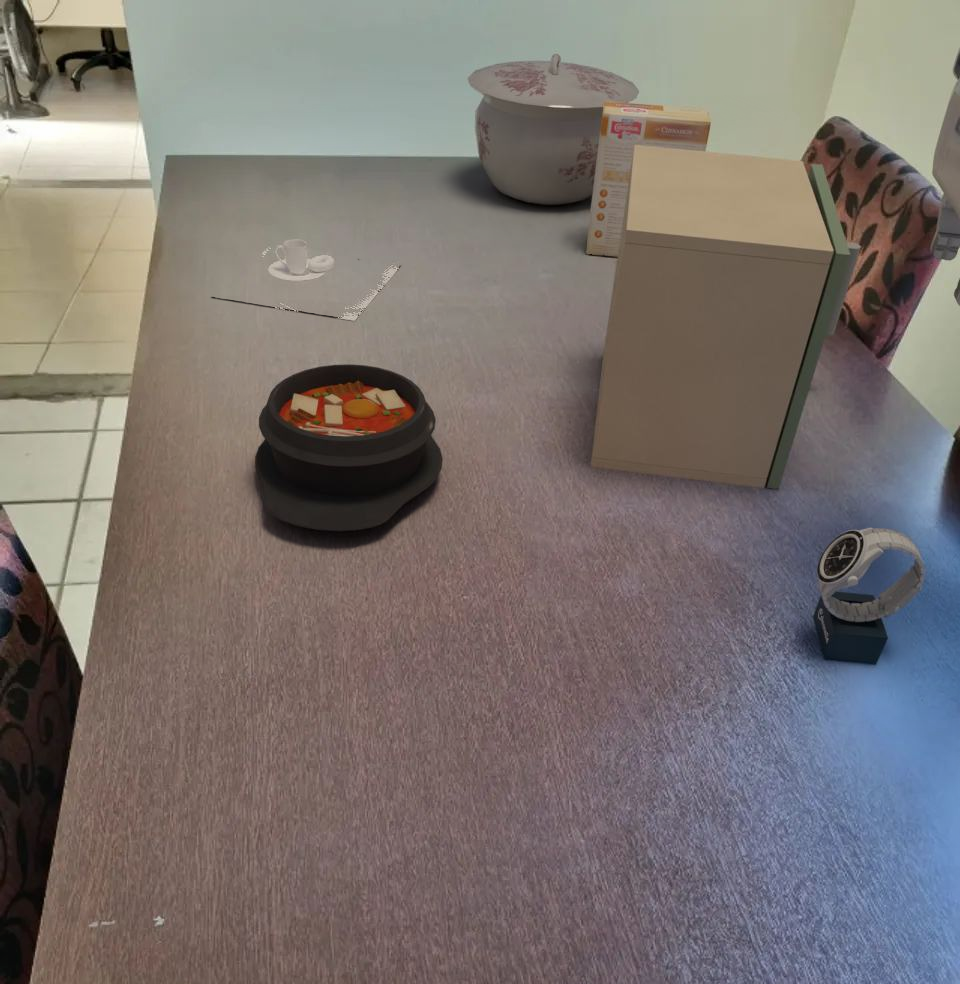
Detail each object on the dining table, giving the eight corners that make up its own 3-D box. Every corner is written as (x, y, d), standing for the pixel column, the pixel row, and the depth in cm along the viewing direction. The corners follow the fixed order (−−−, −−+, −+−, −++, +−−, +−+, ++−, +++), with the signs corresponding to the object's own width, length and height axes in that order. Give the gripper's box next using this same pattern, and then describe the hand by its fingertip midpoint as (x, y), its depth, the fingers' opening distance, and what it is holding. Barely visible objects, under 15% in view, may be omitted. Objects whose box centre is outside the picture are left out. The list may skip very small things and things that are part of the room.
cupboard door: (814, 379, 119) (879, 170, 103) (836, 497, 100) (920, 262, 83) (756, 372, 120) (811, 163, 103) (766, 488, 100) (836, 252, 84)
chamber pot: (514, 229, 152) (526, 80, 138) (435, 176, 169) (438, 39, 155) (658, 208, 163) (682, 68, 149) (570, 160, 180) (583, 31, 166)
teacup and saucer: (340, 267, 137) (338, 238, 134) (319, 288, 131) (317, 258, 129) (282, 258, 139) (279, 229, 136) (259, 279, 133) (255, 249, 130)
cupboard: (748, 372, 120) (803, 160, 103) (764, 489, 100) (834, 250, 84) (603, 356, 121) (634, 144, 105) (590, 467, 102) (626, 229, 85)
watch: (790, 615, 85) (826, 511, 78) (882, 624, 85) (927, 521, 78) (800, 659, 81) (840, 553, 74) (897, 668, 81) (947, 563, 74)
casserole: (419, 559, 88) (420, 480, 83) (220, 534, 90) (208, 455, 84) (459, 423, 107) (462, 351, 101) (293, 404, 108) (287, 332, 102)
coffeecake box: (682, 247, 150) (709, 107, 137) (685, 264, 145) (712, 121, 132) (586, 238, 151) (603, 98, 138) (585, 255, 146) (603, 111, 133)
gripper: (1133, 122, 57) (1030, 342, 67) (1041, 50, 73) (967, 238, 82) (1024, 110, 58) (936, 330, 67) (954, 41, 73) (891, 229, 82)
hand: (952, 279), depth 75 cm, fingers open, 8 cm apart
